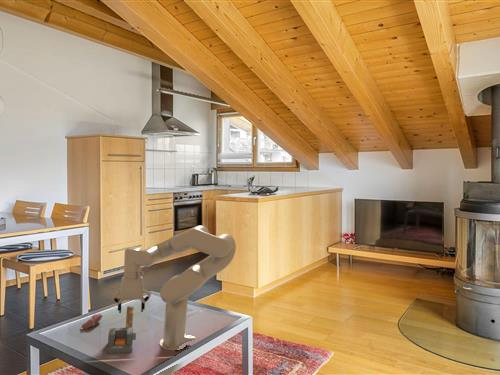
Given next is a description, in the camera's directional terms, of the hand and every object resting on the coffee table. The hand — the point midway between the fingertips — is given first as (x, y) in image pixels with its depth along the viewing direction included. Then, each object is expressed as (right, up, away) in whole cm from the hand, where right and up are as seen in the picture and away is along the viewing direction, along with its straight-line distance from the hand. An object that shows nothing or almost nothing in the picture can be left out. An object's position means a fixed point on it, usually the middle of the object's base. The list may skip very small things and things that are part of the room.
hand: (131, 311), depth 180 cm
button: (-2, -12, -10) cm, 16 cm away
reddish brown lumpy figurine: (-22, -11, +10) cm, 26 cm away
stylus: (-2, -12, +1) cm, 12 cm away
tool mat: (-2, -12, +1) cm, 13 cm away
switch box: (-2, -13, -10) cm, 16 cm away
